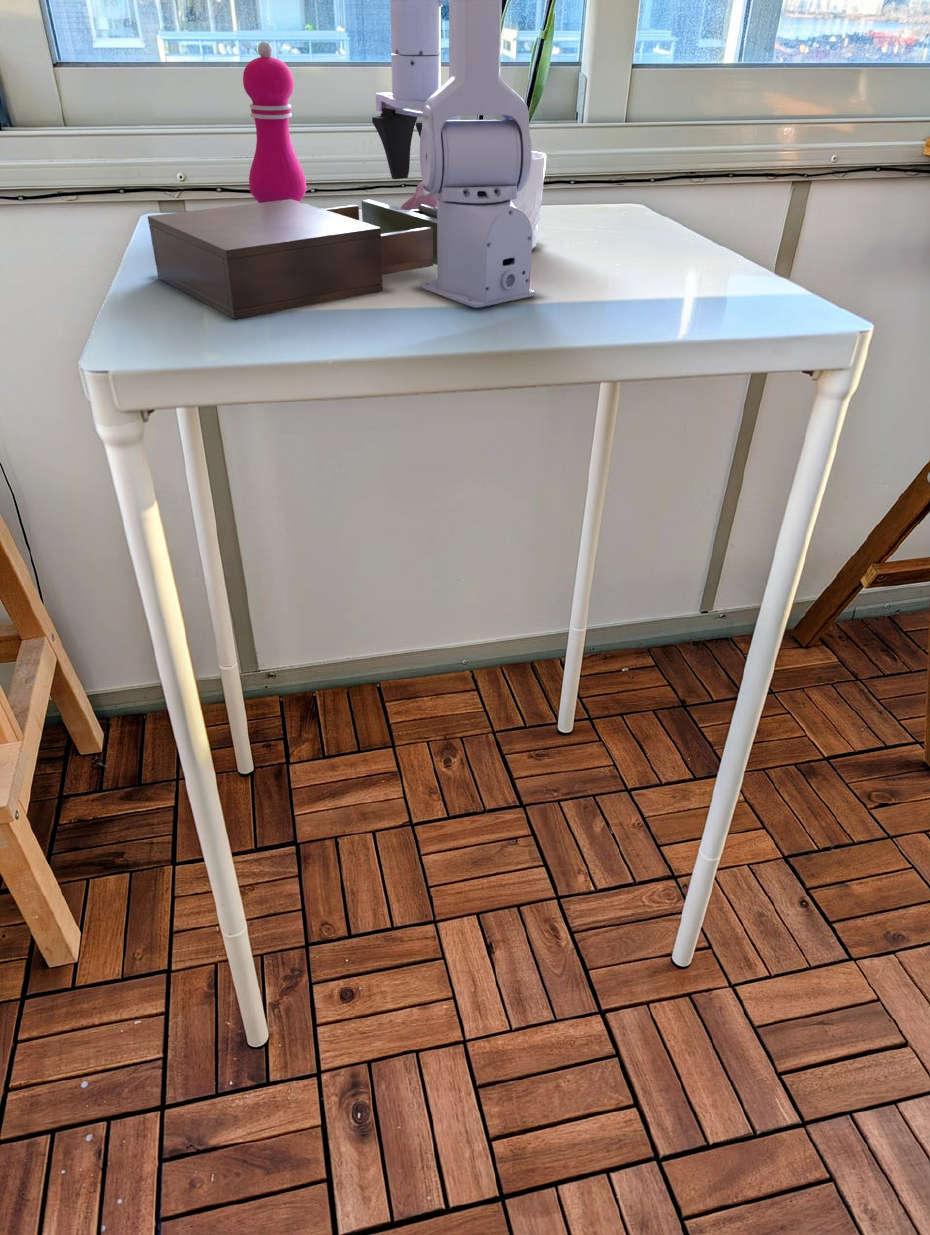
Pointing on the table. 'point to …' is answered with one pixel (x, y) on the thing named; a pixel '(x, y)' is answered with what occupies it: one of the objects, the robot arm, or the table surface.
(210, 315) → the table surface
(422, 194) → the video game controller
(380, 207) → the drawer
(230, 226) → the cabinet
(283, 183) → the pepper mill
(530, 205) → the white cup
